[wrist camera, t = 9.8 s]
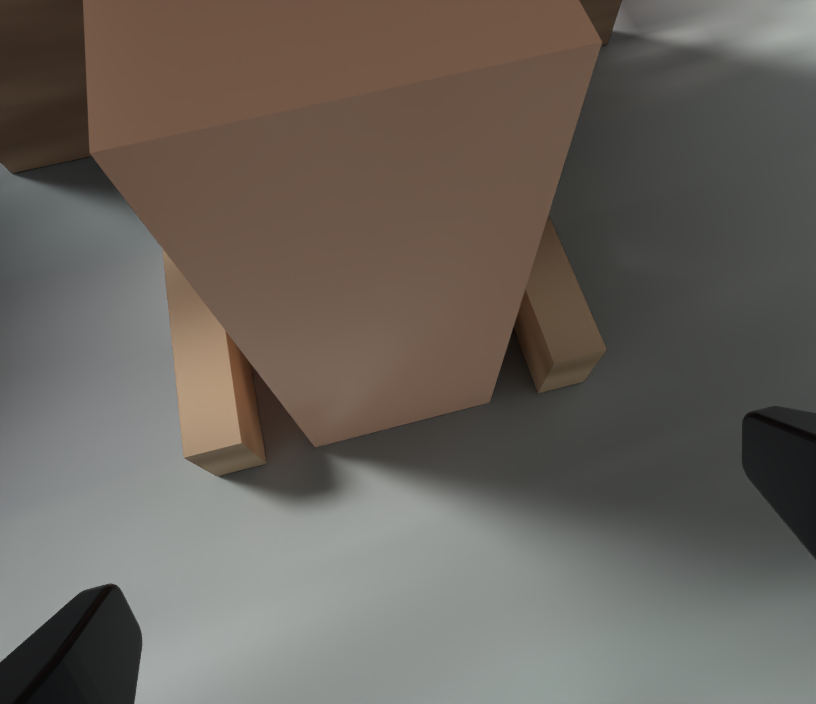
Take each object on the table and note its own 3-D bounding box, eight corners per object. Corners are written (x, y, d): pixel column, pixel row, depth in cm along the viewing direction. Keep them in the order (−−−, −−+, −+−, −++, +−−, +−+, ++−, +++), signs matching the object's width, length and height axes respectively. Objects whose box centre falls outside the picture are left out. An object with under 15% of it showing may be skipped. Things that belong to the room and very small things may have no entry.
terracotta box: (489, 402, 18) (602, 41, 6) (315, 447, 17) (89, 152, 6) (437, 243, 20) (449, -233, 9) (282, 280, 20) (75, -166, 8)
